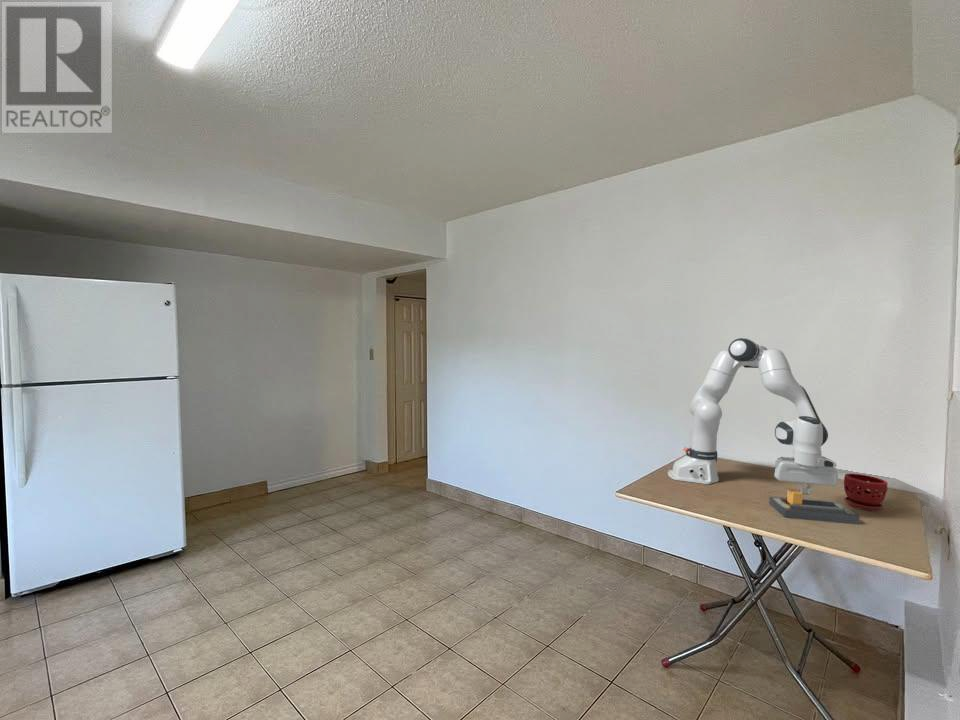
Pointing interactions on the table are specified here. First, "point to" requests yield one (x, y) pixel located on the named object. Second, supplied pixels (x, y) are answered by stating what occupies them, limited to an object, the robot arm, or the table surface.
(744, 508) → the table surface
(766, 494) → the table surface
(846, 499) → the plant pot
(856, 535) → the table surface
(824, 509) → the gray rectangular tray
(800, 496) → the block
